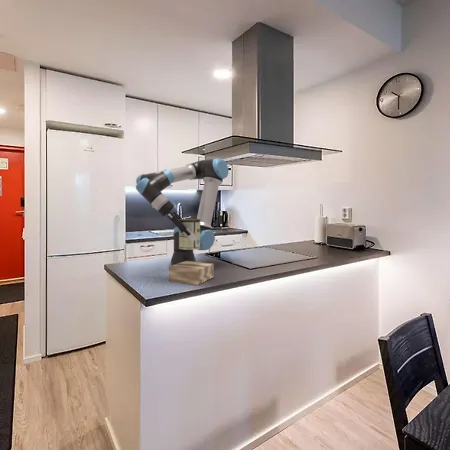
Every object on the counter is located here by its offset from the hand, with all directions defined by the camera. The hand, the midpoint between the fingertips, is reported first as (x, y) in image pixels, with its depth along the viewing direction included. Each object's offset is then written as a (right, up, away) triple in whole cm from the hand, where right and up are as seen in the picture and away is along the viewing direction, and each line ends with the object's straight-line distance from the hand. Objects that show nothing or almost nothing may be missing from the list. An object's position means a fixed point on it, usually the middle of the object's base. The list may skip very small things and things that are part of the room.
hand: (195, 238), depth 148 cm
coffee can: (-3, -5, 0) cm, 6 cm away
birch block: (-2, -20, +2) cm, 20 cm away
